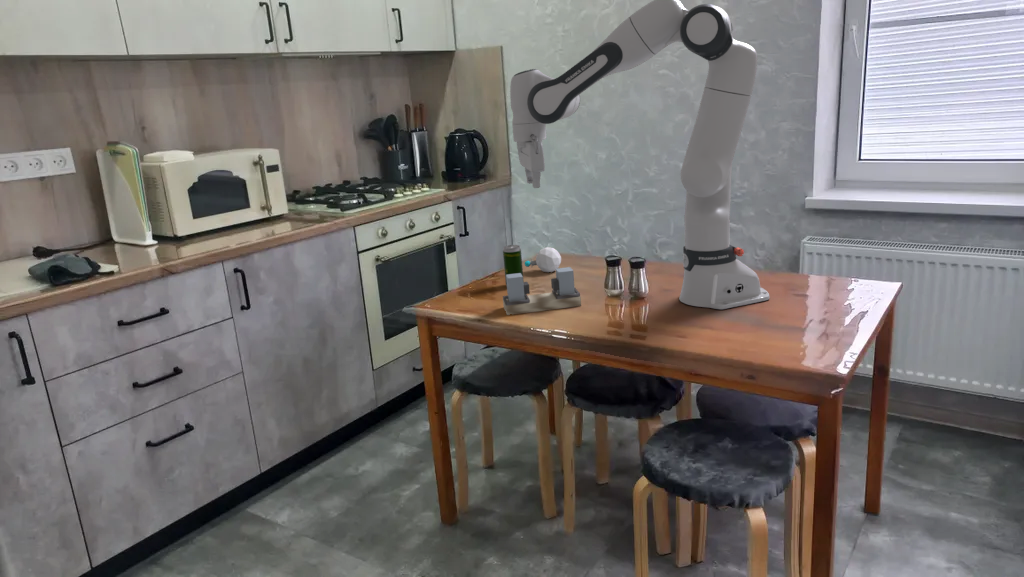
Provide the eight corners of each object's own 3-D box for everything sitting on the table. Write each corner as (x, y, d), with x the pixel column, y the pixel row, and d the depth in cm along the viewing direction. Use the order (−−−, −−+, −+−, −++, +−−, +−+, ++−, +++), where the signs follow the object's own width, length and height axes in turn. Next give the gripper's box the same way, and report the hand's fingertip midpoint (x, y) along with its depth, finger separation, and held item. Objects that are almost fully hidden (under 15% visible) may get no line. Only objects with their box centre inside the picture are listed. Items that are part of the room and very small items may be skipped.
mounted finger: (571, 291, 191) (570, 267, 189) (574, 295, 187) (573, 270, 185) (551, 294, 191) (550, 269, 189) (554, 298, 187) (553, 273, 185)
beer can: (527, 285, 210) (524, 246, 207) (513, 289, 207) (510, 249, 204) (516, 282, 214) (512, 243, 211) (502, 286, 211) (498, 247, 208)
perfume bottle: (559, 264, 216) (521, 270, 218) (564, 273, 223) (528, 279, 226) (557, 241, 218) (520, 247, 221) (562, 251, 226) (526, 257, 229)
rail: (575, 298, 194) (574, 286, 193) (581, 305, 187) (580, 294, 186) (503, 307, 191) (502, 295, 190) (507, 315, 185) (505, 303, 184)
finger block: (528, 297, 190) (526, 272, 188) (530, 301, 186) (528, 276, 184) (508, 299, 189) (505, 274, 187) (510, 303, 185) (507, 278, 183)
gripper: (548, 134, 178) (552, 189, 181) (534, 130, 197) (538, 179, 201) (524, 137, 177) (528, 191, 181) (512, 132, 196) (516, 182, 200)
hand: (533, 185), depth 191 cm, fingers open, 8 cm apart
